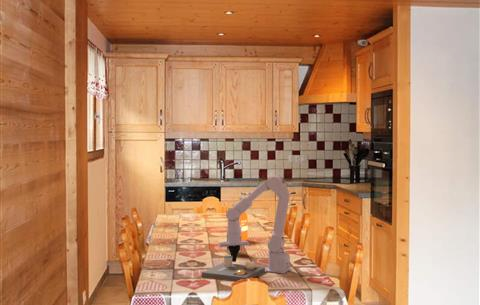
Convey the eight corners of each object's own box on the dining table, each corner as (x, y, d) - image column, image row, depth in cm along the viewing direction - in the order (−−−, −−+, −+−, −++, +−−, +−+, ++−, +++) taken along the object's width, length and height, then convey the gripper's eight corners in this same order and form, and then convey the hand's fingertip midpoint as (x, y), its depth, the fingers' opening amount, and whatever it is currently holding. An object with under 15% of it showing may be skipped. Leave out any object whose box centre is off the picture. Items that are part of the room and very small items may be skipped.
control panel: (265, 271, 257) (265, 267, 257) (245, 282, 239) (245, 277, 239) (223, 266, 267) (223, 262, 267) (201, 276, 249) (201, 272, 249)
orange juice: (247, 239, 333) (247, 206, 332) (239, 242, 326) (238, 208, 325) (237, 238, 337) (237, 205, 337) (228, 240, 330) (228, 207, 330)
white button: (256, 268, 255) (256, 262, 255) (252, 270, 252) (252, 264, 252) (248, 267, 257) (248, 261, 257) (244, 269, 254) (244, 263, 254)
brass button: (246, 276, 247) (246, 270, 246) (242, 278, 243) (242, 272, 243) (238, 275, 248) (238, 269, 248) (234, 277, 245) (234, 271, 245)
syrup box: (233, 251, 301) (233, 224, 300) (242, 252, 297) (241, 225, 296) (226, 253, 296) (226, 226, 296) (235, 254, 293) (234, 227, 292)
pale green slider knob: (232, 266, 259) (232, 256, 259) (230, 267, 257) (230, 257, 257) (226, 265, 260) (225, 255, 260) (224, 266, 259) (223, 256, 258)
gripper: (220, 235, 258) (221, 264, 258) (250, 233, 261) (251, 262, 262) (217, 232, 264) (217, 261, 265) (246, 230, 268) (247, 258, 269)
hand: (234, 261), depth 264 cm, fingers closed
